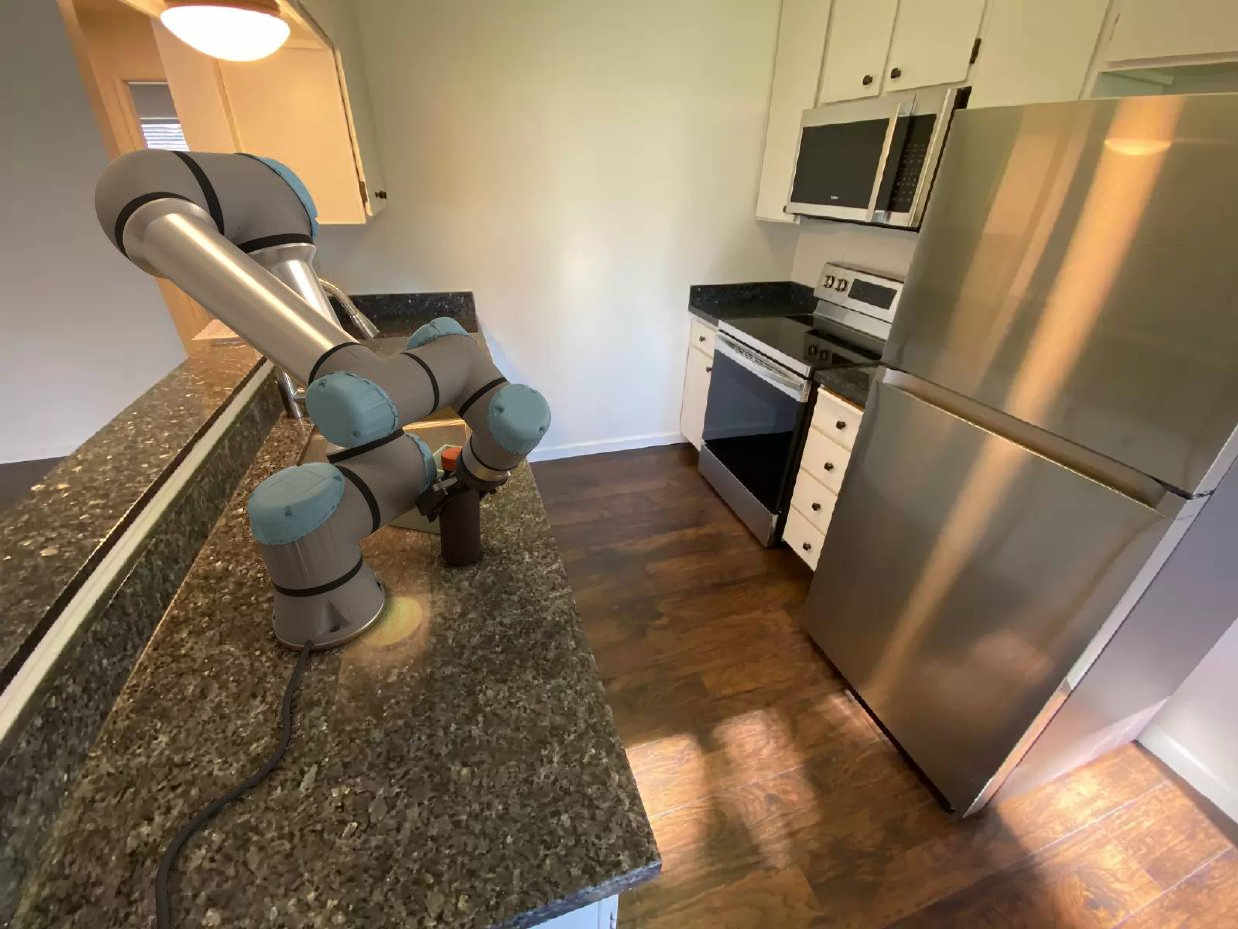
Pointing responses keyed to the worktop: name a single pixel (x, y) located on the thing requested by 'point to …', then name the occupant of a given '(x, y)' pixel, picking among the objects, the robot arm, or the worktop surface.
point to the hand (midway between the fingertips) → (451, 506)
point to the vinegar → (459, 519)
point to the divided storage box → (413, 517)
